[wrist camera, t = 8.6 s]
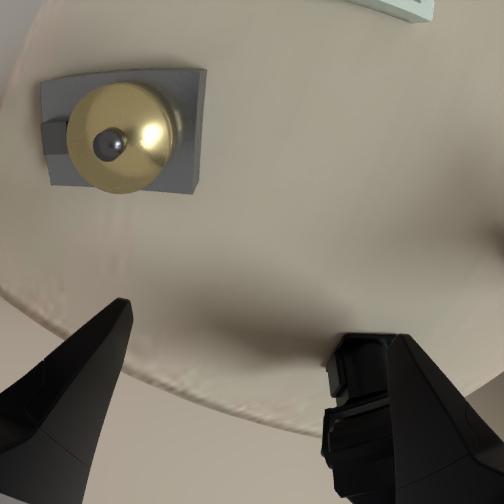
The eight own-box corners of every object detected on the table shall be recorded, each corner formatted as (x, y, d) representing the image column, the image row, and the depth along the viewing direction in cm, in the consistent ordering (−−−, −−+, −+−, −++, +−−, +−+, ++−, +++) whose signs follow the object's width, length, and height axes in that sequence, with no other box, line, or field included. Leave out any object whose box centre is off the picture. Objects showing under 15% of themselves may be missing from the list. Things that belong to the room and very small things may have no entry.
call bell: (206, 69, 14) (189, 75, 11) (198, 180, 19) (183, 215, 15) (58, 77, 14) (15, 91, 10) (65, 172, 18) (31, 202, 15)
